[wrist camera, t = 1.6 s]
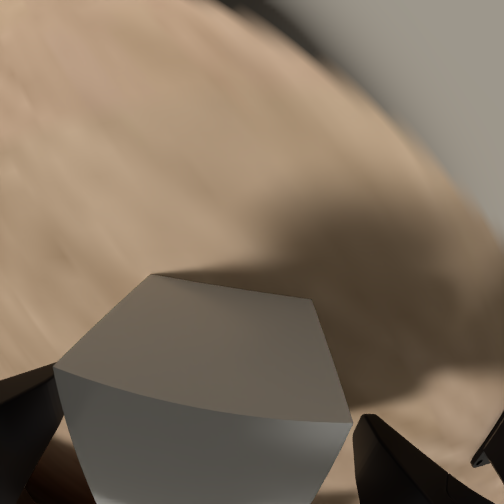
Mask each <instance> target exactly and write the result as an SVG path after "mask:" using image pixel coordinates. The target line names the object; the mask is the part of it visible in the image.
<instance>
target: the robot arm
mask: <svg viewBox="0 0 504 504" xmlns="http://www.w3.org/2000/svg"><path fill="white" fill-rule="evenodd" d="M56 363H57V362H55V363H52V364H49V365H47V366H44V367H41V368H38V369H34V370H31V371H28V372H25V373H22V374H19V375H16V376H13V377H10V378H7V379H4V380H0V504H16V503H17V501H18V499H19V497H20V495H21V493H22V491H23V489H24V487H25V485H26V483H27V482H28V480H29V478H30V476H31V474H32V472H33V470H34V469H35V467H36V465H37V463H38V461H39V460H40V458H41V456H42V454H43V453H44V451H45V449H46V447H47V446H48V444H49V442H50V440H51V439H52V437H53V435H54V434H55V432H56V430H57V428H58V426H59V425H60V422H61V420H62V418H63V416H64V412H63V409H62V405H61V401H60V397H59V393H58V389H57V384H56V380H55V375H54V371H53V366H54V365H55V364H56ZM353 451H354V465H355V478H356V484H357V490H358V495H359V500H360V504H495V503H493V502H491V501H490V500H488V499H486V498H484V497H483V496H481V495H479V494H478V493H476V492H475V491H473V490H471V489H470V488H468V487H467V486H465V485H464V484H463V483H461V482H460V481H458V480H457V479H456V478H454V477H453V476H452V475H451V474H448V472H447V471H445V470H444V469H443V468H441V467H440V466H439V465H438V464H436V463H435V462H434V461H432V460H431V459H430V458H429V457H427V456H426V455H425V454H424V453H422V452H421V451H420V450H419V449H417V448H416V447H415V446H414V445H412V444H411V443H410V442H409V441H408V440H406V439H405V438H404V437H403V436H401V435H400V434H399V433H398V432H397V431H395V430H394V429H393V428H392V427H390V426H389V425H388V424H387V423H386V422H384V421H383V420H382V419H381V418H380V417H378V416H377V415H376V414H363V415H362V416H361V418H360V420H359V422H358V424H357V426H356V428H355V430H354V433H353ZM489 463H491V464H492V466H493V468H494V469H495V471H496V472H497V474H498V476H499V477H500V479H501V481H502V482H503V484H504V413H503V414H502V416H501V418H500V419H499V421H498V423H497V424H496V426H495V427H494V429H493V430H492V432H491V433H490V435H489V436H488V438H487V439H486V441H485V442H484V444H483V445H482V447H481V448H480V449H479V451H478V452H477V453H476V455H475V456H474V458H473V459H472V460H471V465H472V467H473V468H476V467H479V466H483V465H486V464H489Z"/></svg>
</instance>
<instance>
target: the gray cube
mask: <svg viewBox="0 0 504 504" xmlns="http://www.w3.org/2000/svg"><path fill="white" fill-rule="evenodd" d="M53 371H54V375H55V380H56V384H57V389H58V393H59V397H60V401H61V405H62V409H63V412H64V416H65V419H66V423H67V426H68V429H69V433H70V436H71V439H72V442H73V445H74V448H75V451H76V454H77V457H78V459H79V462H80V465H81V468H82V470H83V473H84V475H85V478H86V480H87V483H88V485H89V488H90V490H91V492H92V495H93V497H94V499H95V501H96V504H311V502H312V501H313V499H314V497H315V496H316V494H317V492H318V490H319V489H320V487H321V485H322V483H323V482H324V480H325V478H326V476H327V474H328V473H329V471H330V469H331V467H332V465H333V463H334V461H335V459H336V458H337V456H338V454H339V452H340V450H341V448H342V446H343V444H344V442H345V440H346V438H347V435H348V433H349V431H350V429H351V427H352V425H353V420H352V417H351V414H350V411H349V408H348V405H347V402H346V398H345V395H344V392H343V389H342V386H341V383H340V380H339V377H338V374H337V371H336V368H335V365H334V362H333V359H332V356H331V353H330V350H329V347H328V345H327V342H326V339H325V336H324V333H323V330H322V327H321V324H320V322H319V319H318V316H317V313H316V310H315V308H314V305H313V302H312V299H306V298H298V297H291V296H284V295H277V294H270V293H263V292H256V291H250V290H243V289H237V288H230V287H224V286H218V285H212V284H206V283H200V282H194V281H188V280H182V279H176V278H170V277H165V276H159V275H153V274H150V275H149V276H148V277H147V278H146V279H145V280H143V281H142V282H141V283H140V284H139V285H138V286H137V287H136V288H135V289H133V290H132V291H131V292H130V293H129V294H128V295H127V296H126V297H125V298H124V299H123V300H121V301H120V302H119V303H118V304H117V305H116V306H115V307H114V308H113V309H112V310H111V311H110V312H109V313H107V314H106V315H105V316H104V317H103V318H102V319H101V320H100V321H99V322H98V323H97V324H96V325H95V326H94V327H93V328H92V329H91V330H89V331H88V332H87V333H86V334H85V335H84V336H83V337H82V338H81V339H80V340H79V341H78V342H77V343H76V344H75V345H74V346H73V347H72V348H71V349H70V350H69V351H68V352H67V353H66V354H65V355H64V356H63V357H62V358H61V359H60V360H59V361H58V362H57V363H56V364H55V365H54V366H53Z"/></svg>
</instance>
